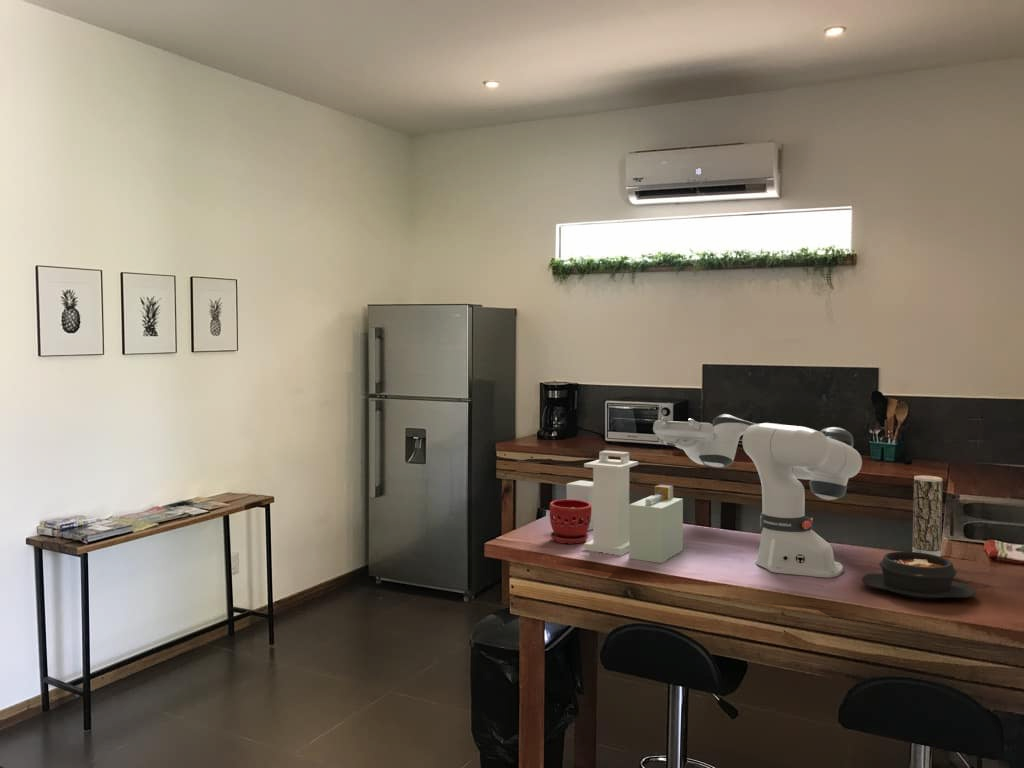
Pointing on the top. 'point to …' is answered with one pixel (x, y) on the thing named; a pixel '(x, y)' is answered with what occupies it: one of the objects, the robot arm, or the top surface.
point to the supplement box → (581, 494)
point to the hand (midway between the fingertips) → (676, 420)
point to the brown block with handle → (661, 494)
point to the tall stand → (610, 503)
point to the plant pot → (570, 520)
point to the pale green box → (655, 529)
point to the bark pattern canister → (927, 515)
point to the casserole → (918, 576)
